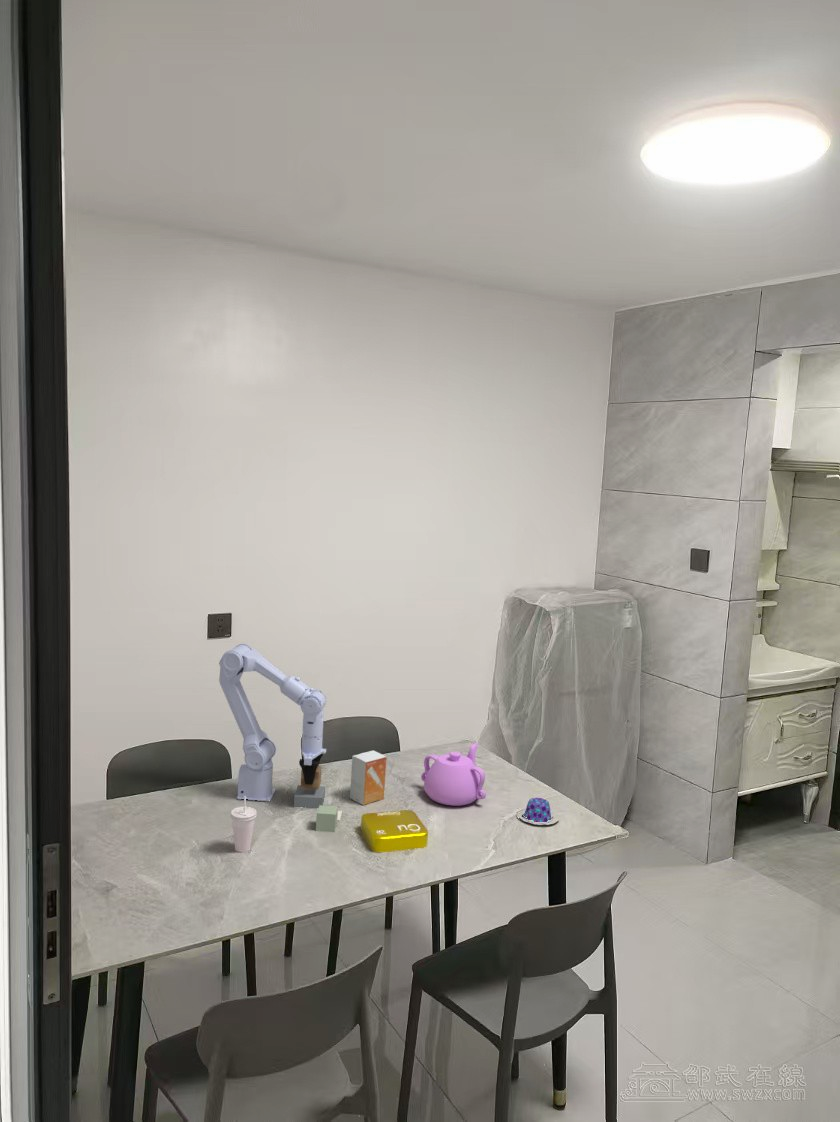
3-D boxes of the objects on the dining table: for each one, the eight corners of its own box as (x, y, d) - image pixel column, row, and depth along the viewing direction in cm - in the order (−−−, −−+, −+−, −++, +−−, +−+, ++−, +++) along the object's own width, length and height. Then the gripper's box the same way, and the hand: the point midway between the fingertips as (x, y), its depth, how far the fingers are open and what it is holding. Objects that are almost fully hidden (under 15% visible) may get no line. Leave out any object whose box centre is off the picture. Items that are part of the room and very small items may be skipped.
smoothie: (233, 856, 205) (234, 802, 203) (226, 845, 211) (228, 792, 209) (258, 852, 208) (260, 798, 206) (251, 840, 214) (253, 788, 212)
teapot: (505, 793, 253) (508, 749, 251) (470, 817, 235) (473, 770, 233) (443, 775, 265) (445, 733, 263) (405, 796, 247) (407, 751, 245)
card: (317, 819, 228) (317, 818, 228) (321, 810, 234) (321, 809, 234) (339, 821, 228) (339, 819, 228) (342, 811, 234) (342, 810, 234)
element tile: (411, 823, 230) (412, 807, 229) (429, 849, 216) (430, 831, 215) (358, 828, 225) (359, 811, 225) (373, 854, 211) (374, 836, 211)
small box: (363, 806, 239) (365, 762, 237) (349, 798, 243) (351, 755, 241) (384, 798, 244) (387, 756, 242) (370, 791, 249) (372, 749, 247)
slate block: (293, 808, 235) (294, 796, 235) (297, 796, 243) (297, 785, 242) (322, 809, 235) (322, 798, 235) (324, 798, 243) (325, 786, 243)
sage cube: (315, 831, 222) (316, 813, 221) (318, 822, 227) (319, 805, 226) (334, 832, 221) (335, 814, 221) (337, 824, 226) (337, 806, 226)
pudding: (514, 824, 233) (515, 806, 232) (518, 807, 245) (519, 790, 244) (557, 831, 231) (559, 813, 230) (559, 813, 242) (561, 795, 242)
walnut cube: (300, 788, 236) (301, 771, 235) (303, 781, 241) (304, 764, 240) (318, 789, 236) (318, 772, 235) (320, 782, 241) (321, 765, 240)
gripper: (322, 744, 229) (320, 791, 231) (330, 726, 243) (328, 771, 245) (297, 742, 229) (295, 789, 231) (306, 725, 244) (304, 769, 245)
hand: (310, 780), depth 238 cm, fingers closed on walnut cube, 5 cm apart
